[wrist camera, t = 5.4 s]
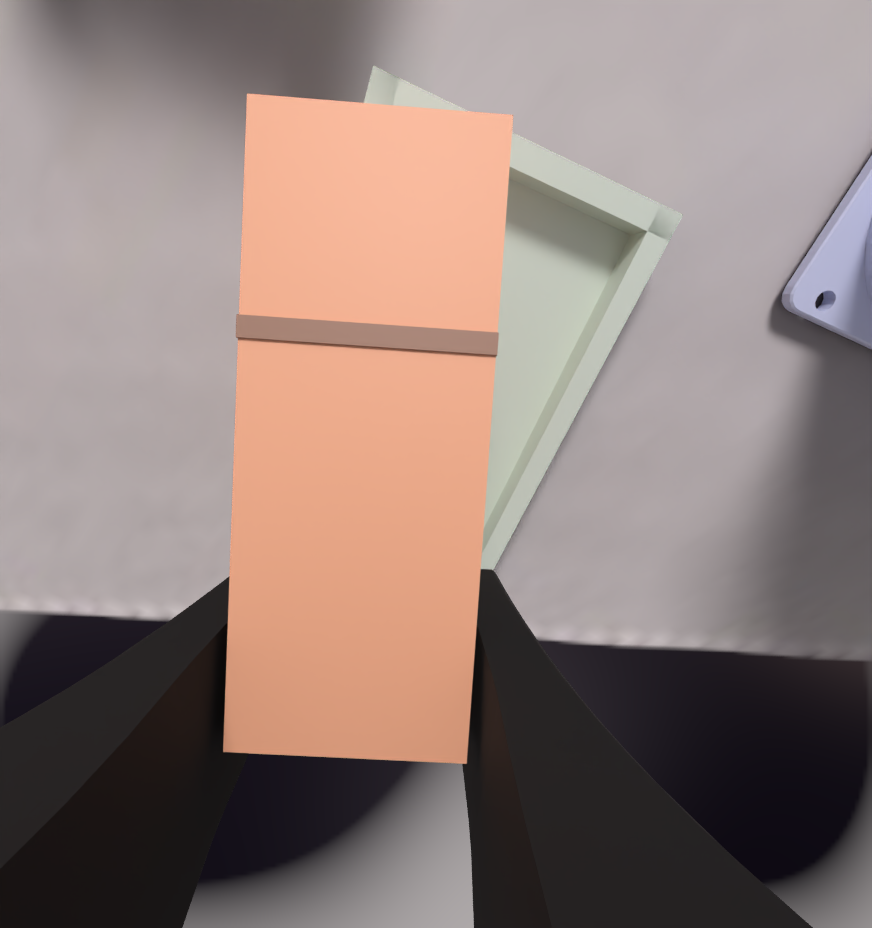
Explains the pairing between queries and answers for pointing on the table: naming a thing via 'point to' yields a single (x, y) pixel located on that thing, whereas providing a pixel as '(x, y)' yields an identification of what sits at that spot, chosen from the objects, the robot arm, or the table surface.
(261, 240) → the orange block
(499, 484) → the tray
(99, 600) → the table surface
